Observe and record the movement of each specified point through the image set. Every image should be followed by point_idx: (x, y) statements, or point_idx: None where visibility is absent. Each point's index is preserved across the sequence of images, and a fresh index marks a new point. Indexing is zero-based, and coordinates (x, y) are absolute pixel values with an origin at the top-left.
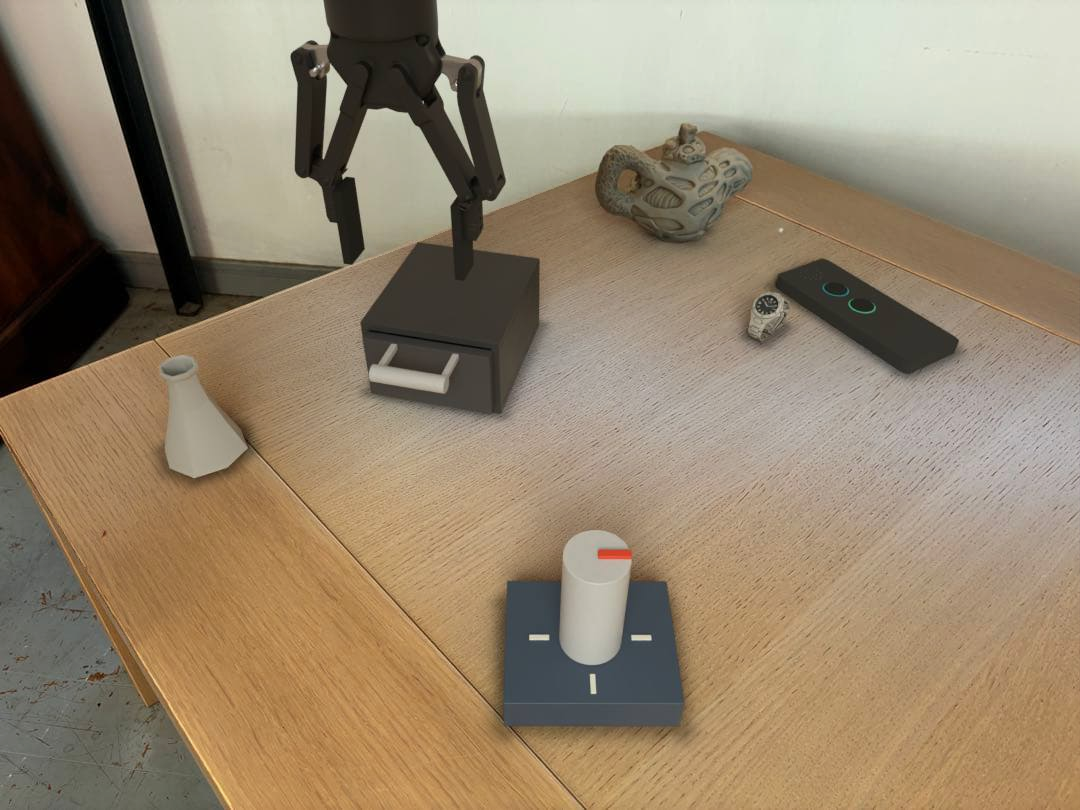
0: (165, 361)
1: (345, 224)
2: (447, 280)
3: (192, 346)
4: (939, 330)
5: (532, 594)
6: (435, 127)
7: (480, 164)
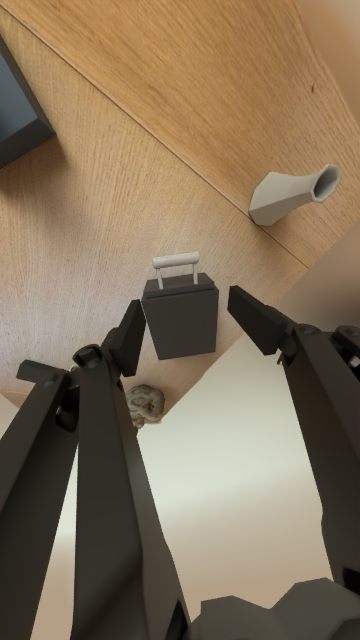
0: (335, 186)
1: (250, 303)
2: (190, 334)
3: (294, 274)
4: (26, 379)
5: (14, 109)
6: (80, 571)
7: (21, 437)
